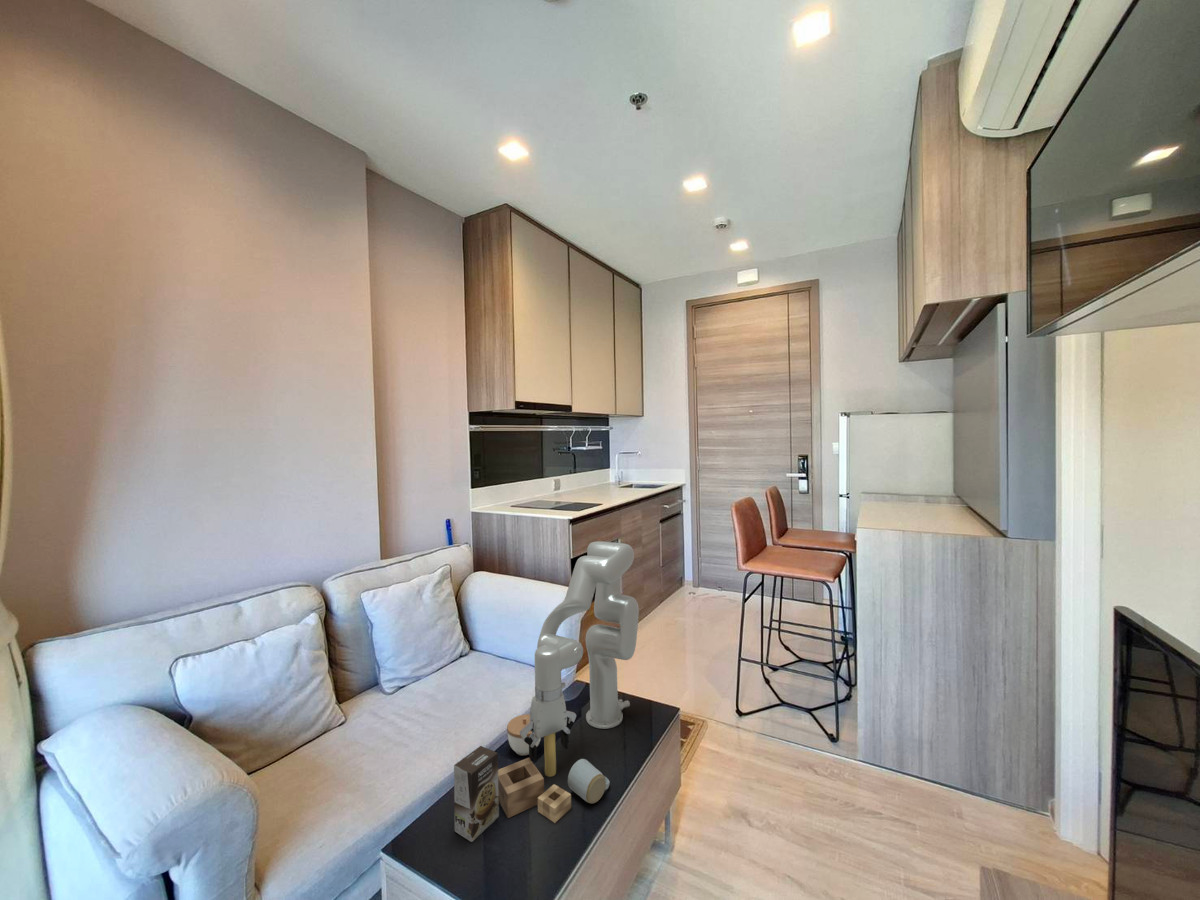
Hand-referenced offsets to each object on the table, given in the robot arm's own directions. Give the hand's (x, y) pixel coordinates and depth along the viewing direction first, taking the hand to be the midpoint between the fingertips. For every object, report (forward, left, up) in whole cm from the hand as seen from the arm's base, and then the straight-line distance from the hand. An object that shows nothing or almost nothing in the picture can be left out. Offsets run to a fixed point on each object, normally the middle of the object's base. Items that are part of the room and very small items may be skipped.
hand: (549, 752), depth 129 cm
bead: (+11, +4, -6) cm, 13 cm away
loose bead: (+5, +13, -6) cm, 15 cm away
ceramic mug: (-6, +13, -6) cm, 15 cm away
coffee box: (+23, +6, -6) cm, 24 cm away
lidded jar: (+2, -14, -6) cm, 16 cm away
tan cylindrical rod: (0, 0, -6) cm, 6 cm away
